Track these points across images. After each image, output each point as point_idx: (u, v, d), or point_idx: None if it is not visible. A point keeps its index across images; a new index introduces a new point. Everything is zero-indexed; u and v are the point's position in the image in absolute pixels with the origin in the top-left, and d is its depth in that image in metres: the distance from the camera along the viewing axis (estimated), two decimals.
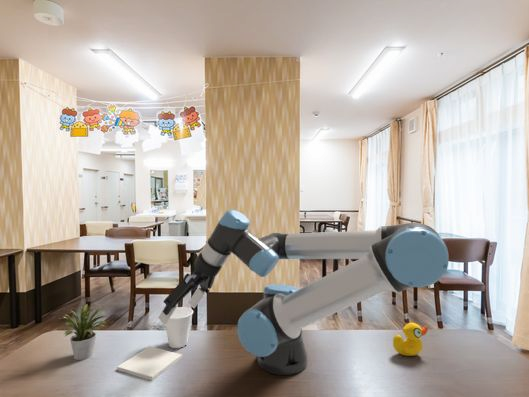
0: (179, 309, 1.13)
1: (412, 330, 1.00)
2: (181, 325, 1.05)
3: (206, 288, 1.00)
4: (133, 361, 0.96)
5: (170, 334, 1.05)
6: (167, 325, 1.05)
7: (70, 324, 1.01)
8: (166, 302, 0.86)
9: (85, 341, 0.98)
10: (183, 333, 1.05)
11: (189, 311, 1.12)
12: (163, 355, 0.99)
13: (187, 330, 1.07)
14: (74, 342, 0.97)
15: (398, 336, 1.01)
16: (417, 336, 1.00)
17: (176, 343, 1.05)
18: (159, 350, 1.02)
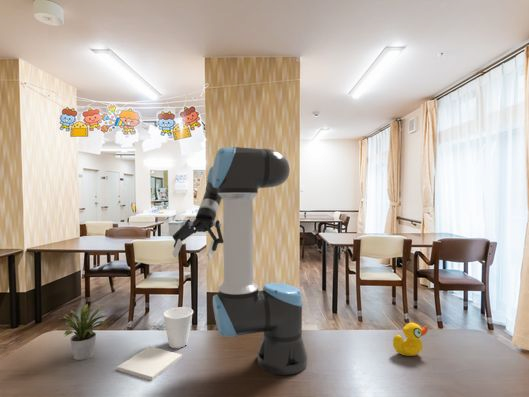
0: (179, 309, 1.13)
1: (412, 330, 1.00)
2: (181, 325, 1.05)
3: (213, 236, 1.21)
4: (133, 361, 0.96)
5: (170, 334, 1.05)
6: (167, 325, 1.05)
7: (70, 324, 1.01)
8: None
9: (85, 341, 0.98)
10: (183, 333, 1.05)
11: (189, 311, 1.12)
12: (163, 355, 0.99)
13: (187, 330, 1.07)
14: (74, 342, 0.97)
15: (398, 336, 1.01)
16: (417, 336, 1.00)
17: (176, 343, 1.05)
18: (159, 350, 1.02)
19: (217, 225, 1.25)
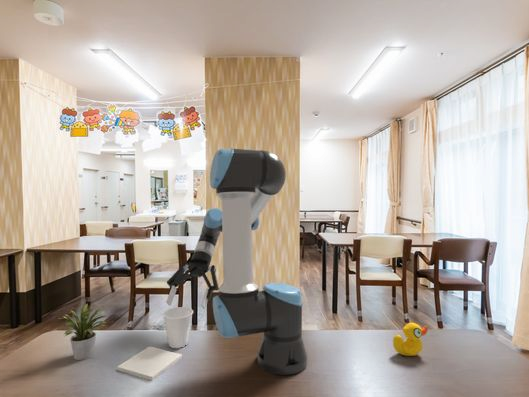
0: (179, 309, 1.13)
1: (412, 330, 1.00)
2: (181, 325, 1.05)
3: (208, 283, 1.18)
4: (133, 361, 0.96)
5: (170, 334, 1.05)
6: (167, 325, 1.05)
7: (70, 324, 1.01)
8: None
9: (85, 341, 0.98)
10: (183, 333, 1.05)
11: (189, 311, 1.12)
12: (163, 355, 0.99)
13: (187, 330, 1.07)
14: (74, 342, 0.97)
15: (398, 336, 1.01)
16: (417, 336, 1.00)
17: (176, 343, 1.05)
18: (159, 350, 1.02)
19: (212, 271, 1.22)
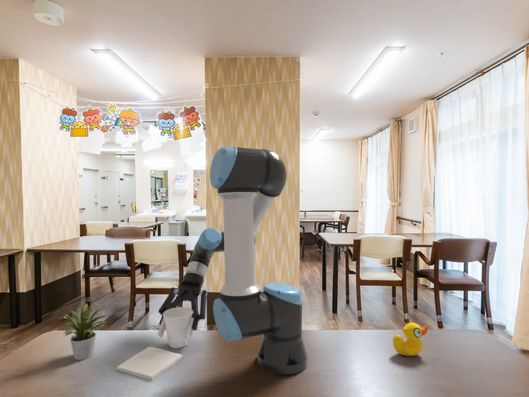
0: (179, 309, 1.13)
1: (412, 330, 1.00)
2: (181, 325, 1.05)
3: (195, 312, 1.09)
4: (133, 361, 0.96)
5: (170, 334, 1.05)
6: (167, 325, 1.05)
7: (70, 324, 1.01)
8: None
9: (85, 341, 0.98)
10: (183, 333, 1.05)
11: (189, 311, 1.12)
12: (163, 355, 0.99)
13: (187, 330, 1.07)
14: (74, 342, 0.97)
15: (398, 336, 1.01)
16: (417, 336, 1.00)
17: (176, 343, 1.05)
18: (159, 350, 1.02)
19: (202, 296, 1.13)
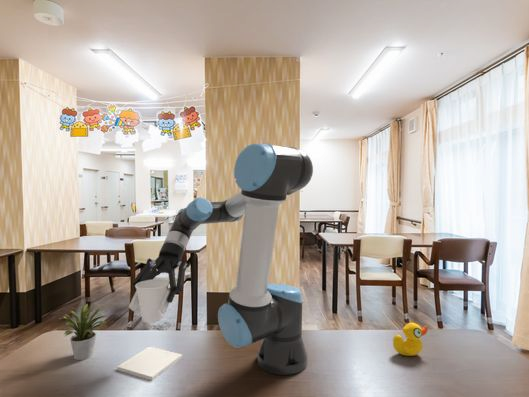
0: (154, 281, 1.02)
1: (412, 330, 1.00)
2: (155, 297, 0.94)
3: (171, 283, 0.98)
4: (133, 361, 0.96)
5: (143, 307, 0.94)
6: (139, 297, 0.94)
7: (70, 324, 1.01)
8: None
9: (85, 341, 0.98)
10: (157, 306, 0.95)
11: (166, 283, 1.01)
12: (163, 355, 0.99)
13: None
14: (74, 342, 0.97)
15: (398, 336, 1.01)
16: (417, 336, 1.00)
17: (149, 317, 0.94)
18: (159, 350, 1.02)
19: (181, 267, 1.02)
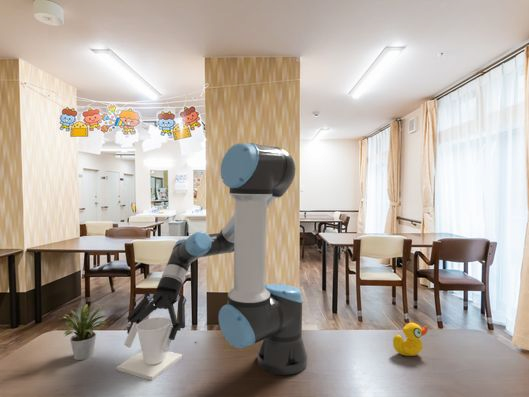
0: (155, 319, 1.01)
1: (412, 330, 1.00)
2: (157, 338, 0.93)
3: (173, 320, 0.97)
4: (133, 361, 0.96)
5: (145, 349, 0.93)
6: (141, 339, 0.93)
7: (70, 324, 1.01)
8: None
9: (85, 341, 0.98)
10: (159, 347, 0.93)
11: (167, 322, 1.00)
12: None
13: None
14: (74, 342, 0.97)
15: (398, 336, 1.01)
16: (417, 336, 1.00)
17: (151, 358, 0.93)
18: None
19: (180, 303, 1.01)
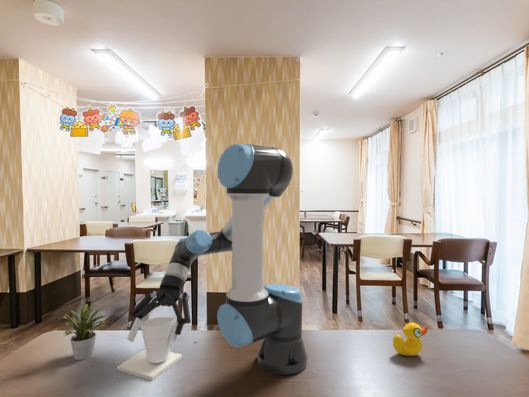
0: (159, 319, 1.02)
1: (412, 330, 1.00)
2: (160, 335, 0.94)
3: (178, 316, 1.00)
4: (133, 361, 0.96)
5: (148, 346, 0.94)
6: (144, 336, 0.94)
7: (70, 324, 1.01)
8: None
9: (85, 341, 0.98)
10: (162, 344, 0.94)
11: (170, 320, 1.01)
12: None
13: (167, 341, 0.95)
14: (74, 342, 0.97)
15: (398, 336, 1.01)
16: (417, 336, 1.00)
17: (155, 356, 0.93)
18: None
19: (184, 299, 1.03)
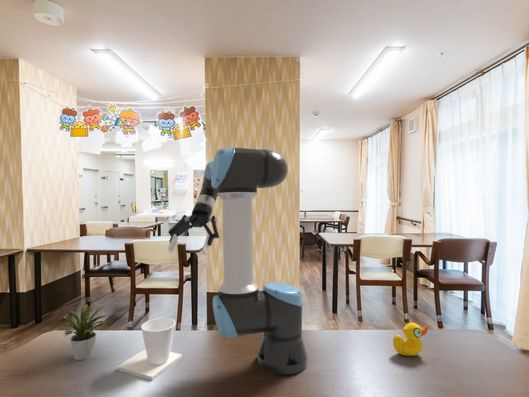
0: (159, 320, 1.01)
1: (412, 330, 1.00)
2: (162, 339, 0.93)
3: (209, 231, 1.21)
4: (133, 361, 0.96)
5: (149, 349, 0.93)
6: (146, 339, 0.93)
7: (70, 324, 1.01)
8: None
9: (85, 341, 0.98)
10: (164, 348, 0.94)
11: (171, 322, 1.00)
12: None
13: (169, 344, 0.95)
14: (74, 342, 0.97)
15: (398, 336, 1.01)
16: (417, 336, 1.00)
17: (156, 359, 0.93)
18: None
19: (213, 220, 1.25)
